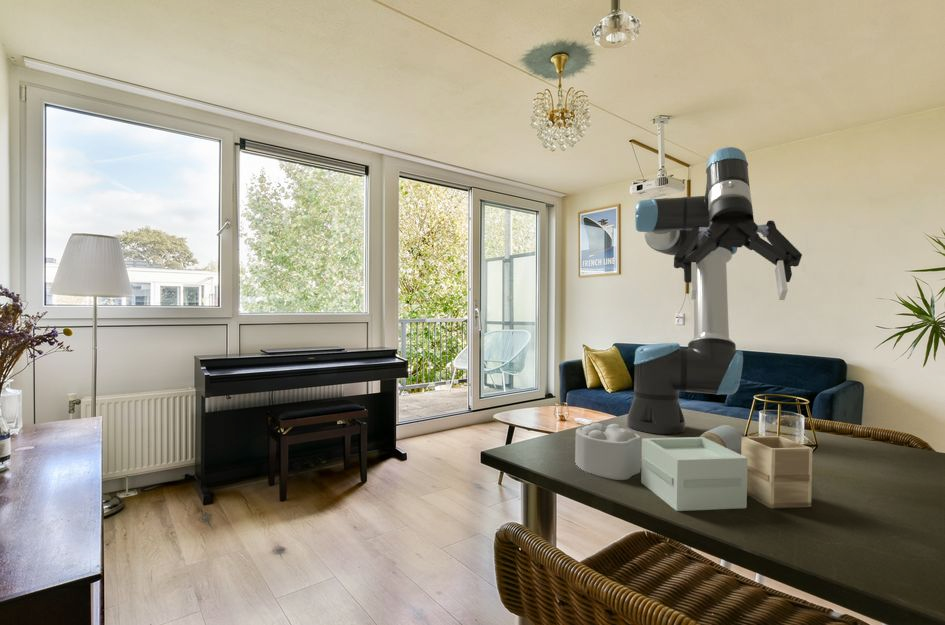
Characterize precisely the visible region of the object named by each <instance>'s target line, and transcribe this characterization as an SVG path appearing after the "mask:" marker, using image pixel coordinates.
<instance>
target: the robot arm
mask: <svg viewBox="0 0 945 625" xmlns="http://www.w3.org/2000/svg"><path fill="white" fill-rule="evenodd" d="M748 167H749V163H748V161H747V157H746V154H745V152H744V151H742V150H741V149H740V148H737V147H733V146H731V147H722V148H719V149H717V150H716V151H714V152H713V153H711V155H710V156H709V158H708V160H707V161H706V170H705V173H706V185H705V194H704V195H698V196H684V197H671V198H670V197H668V198H666V197H665V198H664V197H663V198H650V199H642V200H639V201H637V202H636V204H635V230H636V231H637V232H638V233H639V232H640V233H644V240H645V242H646V244H647V245H648V246H649V247H650V248H651V249H653V250H654V251H655V252H658V253H662V254H664V255H669V256H674V257H673V268H675V269H680V268H681V269H682V270H683V281H684V283H690V299H691V300H693V332H694V333H693V338H692V339H691V340H689V342H688V343H687V348H682V347H681V344H680V343H678V342H677V343H676V342H670V343H669V342H664V343H663V342H662V343H654V344H646V345H645V344H644V345H641V346H638V347H637V348H636V349H635V352H634V355H635V356H634V362H633V365H634V382H633V384H634V385H633V399H632V403H631V406H630V408H629V410H628V413H627V417H626V425H627V426H628V427H629V428H631V429H632V430H636V431H640V432H643V433H644V432H645V433H651V434H660V435H674V434H675V435H676V434H682V433H684V432H685V431H686V420H685V418H684V417H685V416H684V414H683V411H682V407H681V404H680V401H679V400H680V398H679V397H680V392H686V393H699V394H709V395H710V394H711V395H716V396H718V395H734V394H735V393H737V391H738V389H739V387H740V382H741V377H742V372H743V364H744V353H743V351H741V350H739V349H736V347H737V346H736V342H735V341H733V340H732V339H730V334H729V333H730V331H729V327H730V326H729V303H728V302H729V300H728V280H727V279H728V274H727V263H728V262H730V261H731V260H732V257H733V255H735V254H736V253H737V251H738V248H743V247H745V248H746V249H748V250H750V251H754V252H755V253H756V254H758V255H760V256H761V257H763V258H764V259H765V260H767V261H768V262H770V263H771V264H773V265H774V266H775V269H774V272H775V280H776V288H777V295H778V300H779V301H785V299H786V297H787V293H788V289H789V288H788V284H787V283H790V282H791V278H792V277H793V273H792V267H794V268H795V267H796V268H797V267H798V266H799V265H800V263H801V260H802V256H803V254H802V253H801V252H800V251H799V249H798V248H797V247H795V245H794V244H792V243H791V242H790V240H788V239H787V237H785V236H784V235H783V234H782V233H781V231H780V230H778V228H777V225H776V223H775V221H774V220H767V221H766V224H757V223H756V222H755V217H754V211H753V210H754V209H753V205H752V203H753V202H752V196H751V189H750V188H751V187H750V179H749V177H750V176H749V168H748ZM759 234H761V235H762V237H763V238H762V237H761V236H760V235H759ZM764 238H766V239H767V241H766V240H765V239H764Z"/></svg>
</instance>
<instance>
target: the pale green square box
mask: <svg viewBox="0 0 945 625" xmlns="http://www.w3.org/2000/svg"><path fill="white" fill-rule="evenodd" d="M747 465H748V458H747V457H744V456H742V455H740V454H738V453H736V452H734V451H732V450H730V449H728V448H725V447H723V446H721V445H719V444H717V443H715V442H713V441H711V440H708V439H706V438H704V437H700V436H695V437H694V436H693V437H692V436H691V437H689V436H687V437H650V438H648V437H647V438H642V437H641V466H640V473H641V474H640V475H641V476H640V478H641V479H640V480H641V481H640V483H641V484H642V485H643V486H645V487H646V488H647V489H649V491H651V492H653V494H655V495H656V496H657V497H659V499H661V500H662V501H664V503H666V504H667V505H669V506H670V508H672V509H673V510H674V511H676V512H683V511H684V512H685V511H710V510H730V509H731V510H733V509H747V504H748V503H747V502H748V501H747V498H748V495H747Z"/></svg>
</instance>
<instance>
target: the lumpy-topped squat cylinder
mask: <svg viewBox="0 0 945 625" xmlns="http://www.w3.org/2000/svg"><path fill="white" fill-rule="evenodd" d="M574 446H575V448H574V450H575V453H574V454H575V455H574V457H575V458H574V459H575V460H574V463H576V464H575V466H576V465H577V466H578V467H579V468H578V467H577V466H576V467H577V468H578V469H580V468H581V469H582V470H581V469H580V470H581V471H583V470H584V471H583V472H585V471H586V472H585V473H588V472H589V473H588V474H591V473H592V474H591V475H594V474H595V476H599V477H602V478H606V479H610V480H616V481H617V480H618V481H625V480H630V479H631V477H633V476H634V475H638V474H640V473H641V463H642V437H641V436H640V435H639V434H637V433H634V432H633V431H632V430H630V429H628V428H623V427H622V426H621V425H620V424H618V423H611V424H608V425H604V424H602V423H600V422H592V423H591V424H588V425H584V426H582V427H578V428H576V429H575V445H574Z"/></svg>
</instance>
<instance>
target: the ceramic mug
mask: <svg viewBox="0 0 945 625" xmlns="http://www.w3.org/2000/svg"><path fill="white" fill-rule="evenodd" d="M699 437H704V438H706V439H708V440H711V441H713V442H715V443H717V444H719V445H721V446H723V447H725V448H728V449H730V450H732V451H734V452H736V453H738V454H740V455H741V443H742V437H744V436H743V434H742V433H741V431H740V430H738V429H737V428H736V427H734V426H732V425H727V424H722V425H719V426H717V427H713V428H712V429H710V430H706V431H705V432H703V433H702V434H701V435H699Z"/></svg>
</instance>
